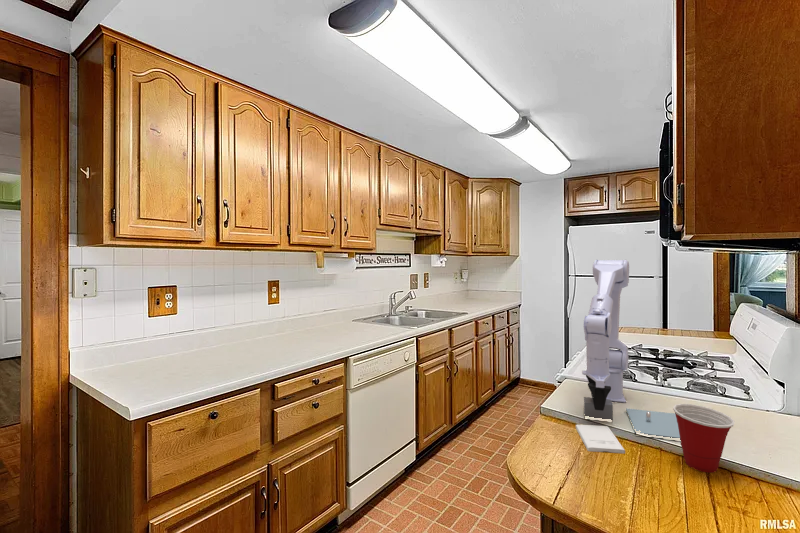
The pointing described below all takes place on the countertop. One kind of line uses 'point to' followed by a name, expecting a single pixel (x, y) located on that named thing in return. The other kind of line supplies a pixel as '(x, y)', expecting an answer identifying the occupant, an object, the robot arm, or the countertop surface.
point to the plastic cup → (702, 435)
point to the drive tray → (654, 422)
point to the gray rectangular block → (591, 411)
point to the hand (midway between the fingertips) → (597, 404)
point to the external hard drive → (599, 439)
